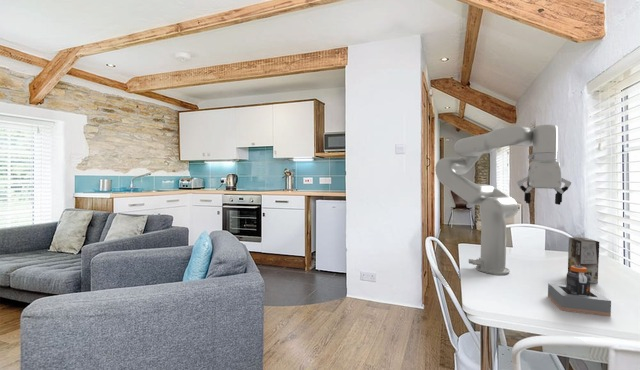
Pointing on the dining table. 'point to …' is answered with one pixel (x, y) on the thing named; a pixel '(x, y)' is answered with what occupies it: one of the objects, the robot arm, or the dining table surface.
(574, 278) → the pill bottle
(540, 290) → the dining table surface
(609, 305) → the grey square frame
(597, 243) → the coffee box
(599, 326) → the dining table surface
